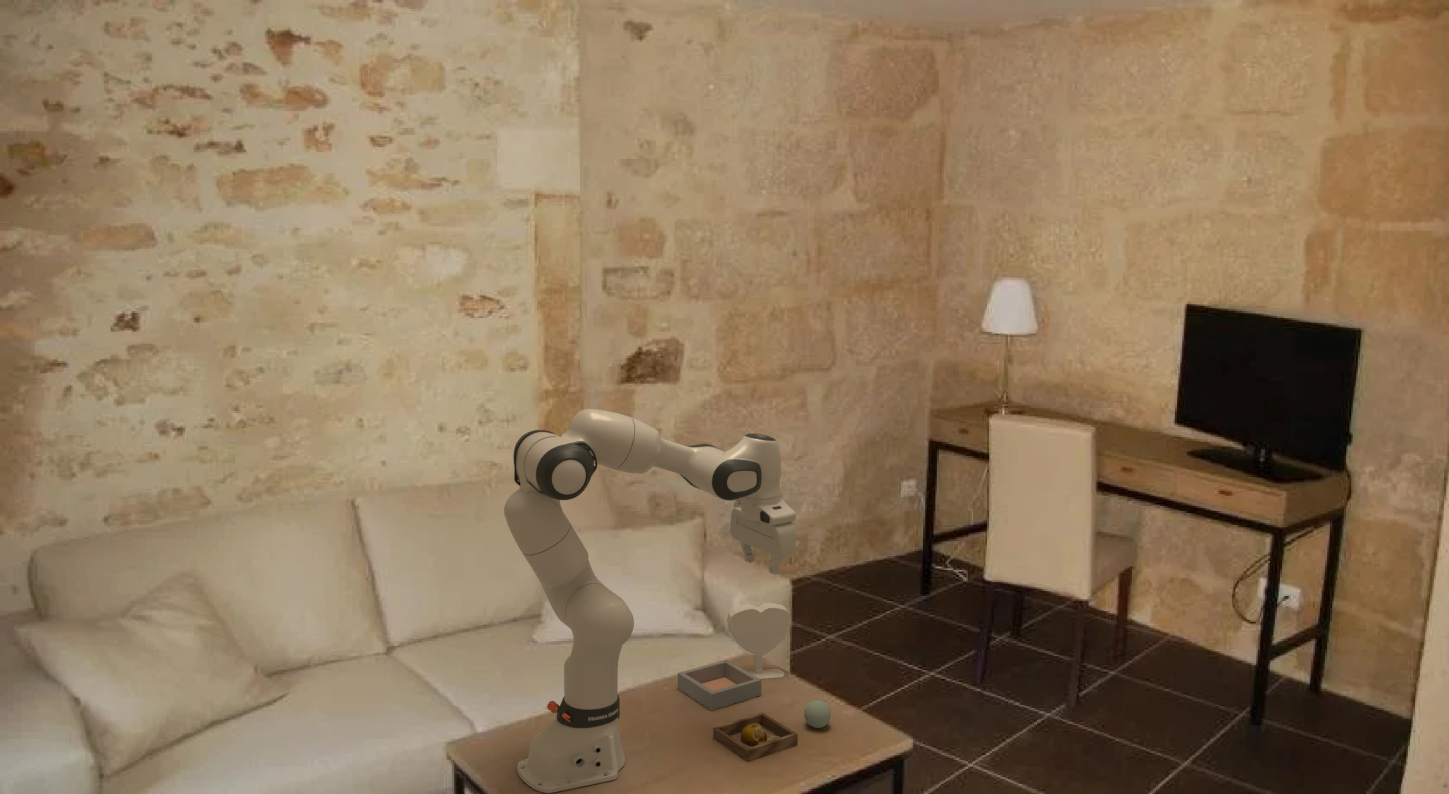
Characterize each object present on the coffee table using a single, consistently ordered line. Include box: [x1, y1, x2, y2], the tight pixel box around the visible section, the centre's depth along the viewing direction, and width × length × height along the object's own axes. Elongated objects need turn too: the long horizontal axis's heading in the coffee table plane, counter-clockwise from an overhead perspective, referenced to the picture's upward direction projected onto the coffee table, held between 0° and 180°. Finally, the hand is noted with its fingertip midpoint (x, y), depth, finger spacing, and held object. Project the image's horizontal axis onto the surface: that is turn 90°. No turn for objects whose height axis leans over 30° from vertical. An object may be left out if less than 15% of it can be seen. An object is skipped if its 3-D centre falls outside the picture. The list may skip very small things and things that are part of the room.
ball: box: [803, 699, 832, 729], centre depth 253 cm, size 6×6×6 cm
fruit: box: [740, 723, 781, 747], centre depth 246 cm, size 8×8×4 cm
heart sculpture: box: [726, 602, 792, 680], centre depth 279 cm, size 16×5×18 cm, turn 102°
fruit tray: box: [712, 712, 799, 763], centre depth 245 cm, size 14×13×2 cm
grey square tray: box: [677, 659, 762, 711], centre depth 270 cm, size 14×14×4 cm
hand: (761, 567), depth 247 cm, fingers open, 8 cm apart
